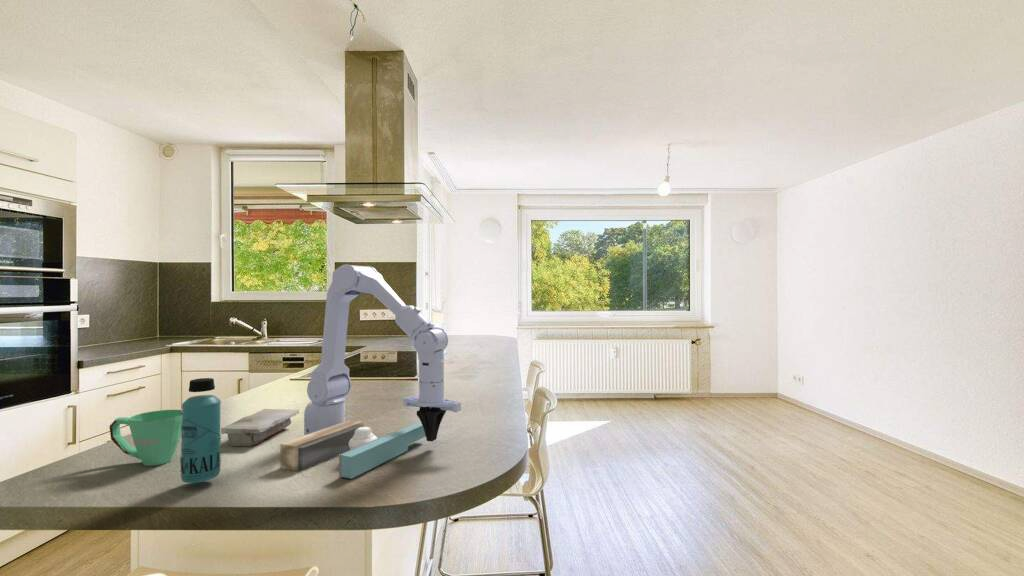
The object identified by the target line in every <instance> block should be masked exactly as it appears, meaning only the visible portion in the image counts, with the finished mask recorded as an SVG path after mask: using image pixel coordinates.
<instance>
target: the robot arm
mask: <svg viewBox="0 0 1024 576" xmlns="http://www.w3.org/2000/svg"><path fill="white" fill-rule="evenodd" d="M362 294H370V295H372V296H374V297H375V298H376V299H377V300H379V302H380V303H381V304H383V306H385V308H387V309H388V310H389V311H390V312H391V313H392V314H393V315H395V317H394V322H395V324H396V325H397V326H398V327H399V328H400V329H401V330H402V331H403V332H404V333H405V334H406V335H407V336H408V337H409V339H411V341H412V342H413V343H412V344H413V348H414V350H415V351H416V353H417V355H418V356H417V359H418V396H406V397H403V398H402V403H403V404H402V406H403V407H414V408H419V409H418V410H416V416H417V418H418V419H419V421H420V423H422V425H423V428H424V431H425V435H426V437H425V439H426V442H434V441H436V440H437V437H438V433H439V428H440V427H441V426H440V425H441V423H442V420H443V419H444V416H445V415H446V413H447V411H450V412H453V413H458V412H460V411H462V403H461V401H457V400H451V399H447V398H445V357H444V356H445V354H444V353H445V352H444V351H445V349H446V348H447V346H448V344H449V337H448V334H447V333H446V332H445V330H444V329H443V328H442V327H438V326H437V327H435V324H434V323H433V322H432V321H429V320H428V319H427V318H426V317H425V315H424V314H422V310H421V308H420V307H419V306H414V305H410V304H409V305H406V303H405V302H404V301H403V300H402V299H401V297H399V296H398V294H397V293H396V292H395V290H394V289H392V287H391V286H390V285H389V284H388V283H387V282H386V281H385V279H384V277H383V274H381V273H380V272H378V270H377V269H376V268H375V267H373V266H371V265H364V266H363V265H355V264H354V265H352V264H348V263H345V264H342V265H340V266H339V267H337V268H336V269H335V270H333V271H332V278H331V284H329V287H328V289H327V292H326V301H325V309H324V310H325V311H324V324H323V334H322V344H321V345H322V346H321V355H320V356H321V357H320V363H319V364H318V365H317V366H316V367H315V368H314V369H313V370H312V371H311V377H310V380H309V382H308V384H307V387H306V392H307V396H308V399H309V401H310V402H308V403H307V405H306V407H305V409H304V413H303V419H304V420H303V423H304V425H303V426H304V427H303V428H304V430H303V434H304V435H303V436H305V435H308V434H311V433H313V432H316V431H319V430H322V429H325V428H328V427H331V426H334V425H337V424H340V423H343V422H345V421H346V399H347V395H349V393H350V392H351V389H352V381H351V377H350V368H349V367H348V366H347V365H346V364H345V356H346V348H347V347H346V346H347V334H348V326H349V325H348V323H349V313H350V303H351V301H353V300H354V299H356V297H358V296H359V295H362Z"/></svg>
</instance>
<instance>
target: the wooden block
mask: <svg viewBox="0 0 1024 576" xmlns="http://www.w3.org/2000/svg"><path fill="white" fill-rule="evenodd" d="M363 423H364V422H363V421H361V420H360V421H359V420H352V419H350V420H349V419H348V420H345V422H343V423H340V424H337V425H334V426H331V427H328V428H325V429H322V430H319V431H316V432H313V433H311V434H308V435H305V436H304V435H302V436H299V437H297V438H293V439H291V440H288V441H284V442H282V443H280V444H279V452H280V453H279V454H280V456H279V457H280V458H279V462H280V464H279V465H280V466H279V469H282V470H287V471H290V472H291V471H292V472H296V471H298V470H299V471H305V470H308V469H309V468H312V467H314V466H316V465H319V464H321V463H323V461H324V462H326V461H328V460H330V458H331V459H333V458H335V457H337V455H338V456H339V454H342V453H344V452H347V451H349V450H350V449H351V448H350V447H349V445H348V444H349V441H350V439H352V438H353V435H354V434H355V430H356V429H357V428H360V427H362V426H363V427H365V425H363Z"/></svg>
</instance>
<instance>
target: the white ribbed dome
mask: <svg viewBox="0 0 1024 576" xmlns="http://www.w3.org/2000/svg"><path fill="white" fill-rule="evenodd" d="M378 438H379V437H377V436H376V435H375V434H374V433H373V432H372V429H371V428H370V427H368V426H364V427H363V426H362V427H360V428H357V429H356V430H355V434H354V435H353V438H352V439H350V441H349V444H348V445H349V447H350V448H351V449H350V450H352V449H354V448H356V447H359V446H361V445H363V444H366V443H368V442H370V441H373V440H375V439H378Z"/></svg>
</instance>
